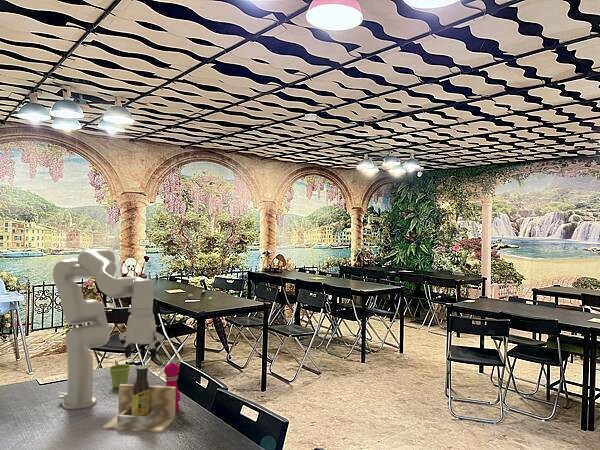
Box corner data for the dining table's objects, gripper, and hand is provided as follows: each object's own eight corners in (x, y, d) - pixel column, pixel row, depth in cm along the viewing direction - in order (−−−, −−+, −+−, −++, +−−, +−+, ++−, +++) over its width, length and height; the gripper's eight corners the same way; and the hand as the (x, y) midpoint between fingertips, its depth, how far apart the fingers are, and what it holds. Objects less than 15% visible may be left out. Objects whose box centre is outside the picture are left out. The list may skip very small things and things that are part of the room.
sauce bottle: (138, 426, 169) (139, 371, 169) (127, 422, 172) (128, 368, 172) (153, 420, 174) (154, 366, 175) (142, 416, 178) (142, 364, 178)
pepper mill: (175, 413, 183) (176, 362, 183) (158, 411, 184) (159, 361, 185) (183, 406, 190) (184, 357, 191) (166, 405, 192) (167, 356, 192)
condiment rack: (102, 429, 168) (103, 395, 168) (120, 415, 181) (120, 384, 181) (161, 432, 165) (162, 398, 166) (175, 418, 178) (175, 386, 179)
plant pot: (125, 389, 210) (126, 370, 210) (105, 389, 210) (105, 369, 210) (133, 382, 219) (134, 364, 220) (113, 382, 220) (114, 364, 220)
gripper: (115, 312, 171) (113, 359, 171) (160, 314, 169) (158, 362, 169) (124, 309, 179) (123, 354, 178) (168, 311, 177) (166, 356, 177)
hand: (140, 357), depth 174 cm, fingers open, 9 cm apart
